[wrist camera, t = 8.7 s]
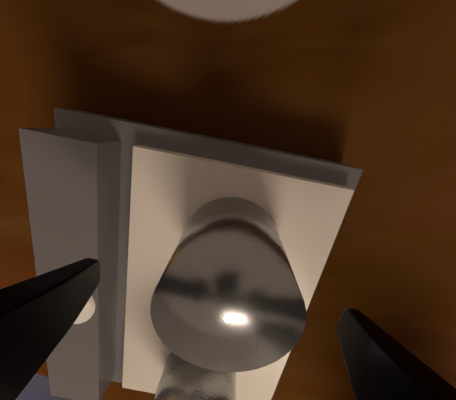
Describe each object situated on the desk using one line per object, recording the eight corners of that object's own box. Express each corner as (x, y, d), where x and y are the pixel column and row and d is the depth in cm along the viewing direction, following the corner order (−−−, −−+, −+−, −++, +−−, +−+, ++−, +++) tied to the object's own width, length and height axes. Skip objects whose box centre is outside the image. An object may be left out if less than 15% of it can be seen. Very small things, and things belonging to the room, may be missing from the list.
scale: (263, 377, 19) (270, 451, 15) (91, 344, 19) (46, 409, 15) (341, 162, 13) (394, 179, 9) (86, 111, 13) (5, 101, 8)
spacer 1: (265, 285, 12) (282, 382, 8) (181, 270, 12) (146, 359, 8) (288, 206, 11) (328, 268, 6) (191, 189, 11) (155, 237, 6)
